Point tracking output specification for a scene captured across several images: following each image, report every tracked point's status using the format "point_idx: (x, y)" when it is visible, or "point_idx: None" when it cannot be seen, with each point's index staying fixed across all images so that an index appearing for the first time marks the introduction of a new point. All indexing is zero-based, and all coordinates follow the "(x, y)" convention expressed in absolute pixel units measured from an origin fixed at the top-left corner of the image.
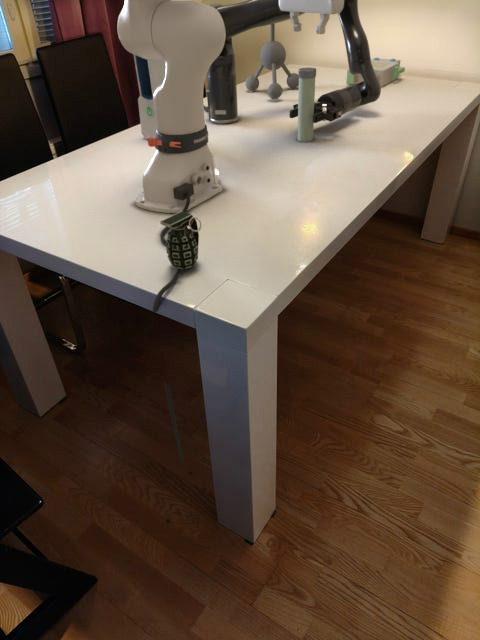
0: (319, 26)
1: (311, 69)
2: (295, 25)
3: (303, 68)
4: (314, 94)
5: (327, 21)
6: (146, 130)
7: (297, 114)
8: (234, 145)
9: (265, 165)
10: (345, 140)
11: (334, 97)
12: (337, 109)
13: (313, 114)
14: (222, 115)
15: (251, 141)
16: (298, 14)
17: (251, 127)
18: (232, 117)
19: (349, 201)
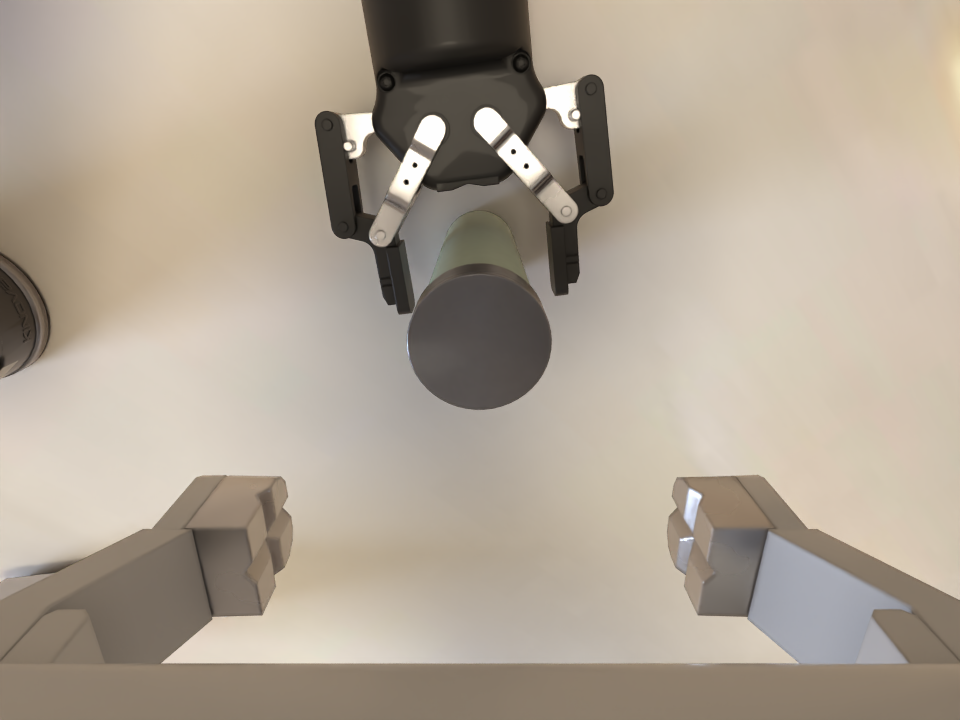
0: (760, 614)
1: (511, 331)
2: (239, 602)
3: (429, 340)
4: (522, 267)
5: (896, 578)
6: None
7: (405, 255)
8: (331, 479)
9: (572, 525)
10: (634, 125)
11: (499, 25)
12: (598, 124)
13: (517, 250)
14: (10, 368)
15: (336, 412)
16: (85, 642)
17: (166, 293)
18: (27, 318)
19: (947, 541)
